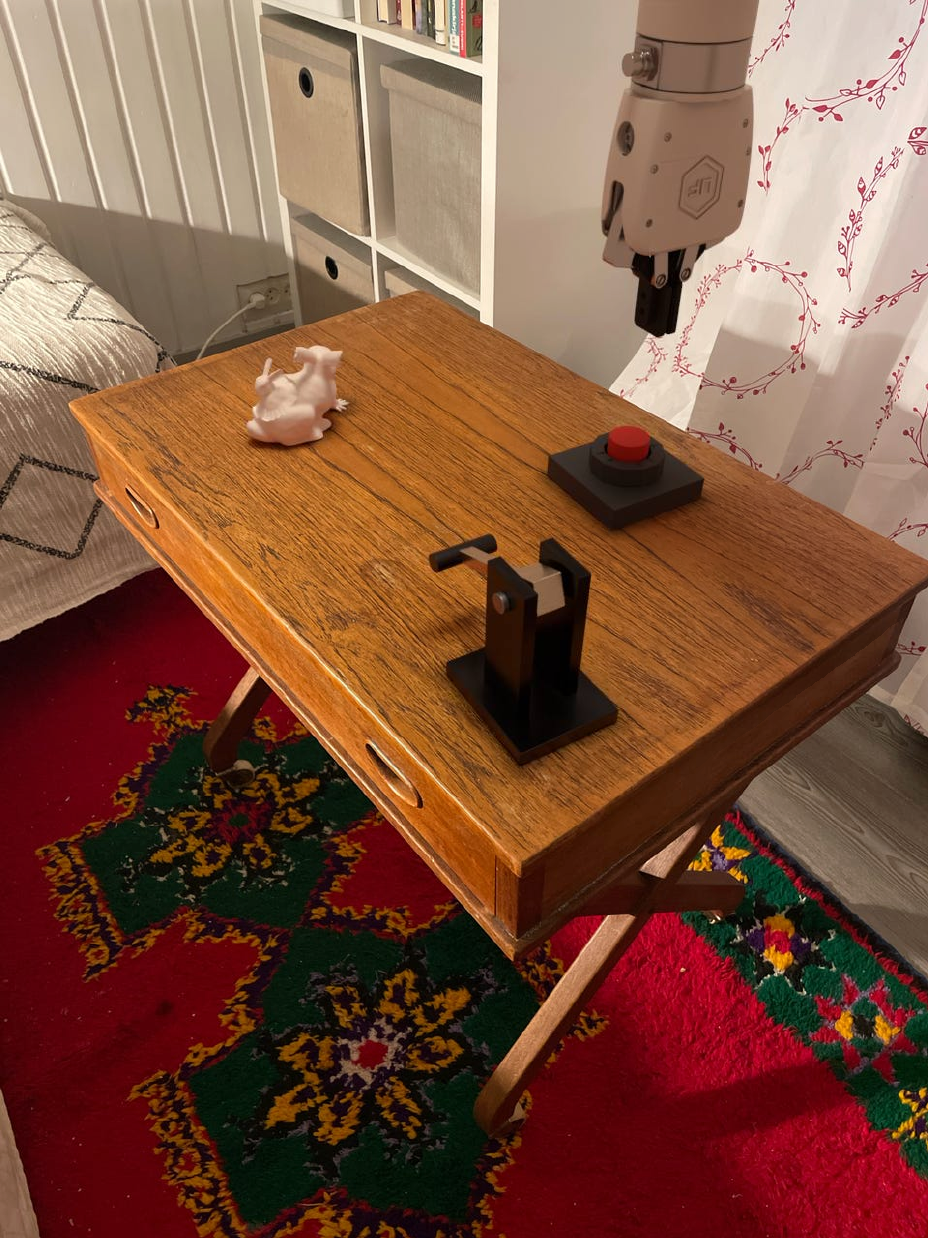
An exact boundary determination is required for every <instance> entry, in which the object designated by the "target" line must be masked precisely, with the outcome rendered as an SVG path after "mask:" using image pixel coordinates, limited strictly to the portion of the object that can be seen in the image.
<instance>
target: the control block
mask: <svg viewBox="0 0 928 1238" xmlns="http://www.w3.org/2000/svg"><path fill="white" fill-rule="evenodd" d="M610 432H611V431H609V432H605V433H602V434H599V435H597V437H596V438H595V439H594V440H593V441H590V442H587V443H584V444H581V445H577V446H574V447H571V448H568V449H565V450H562V451H559V452H556V453H552V454H550V455H549V454H548V456H547V457H548V458H547V461H548V462H547V471H546V472H547V473H546V477H548V478H549V479H550V480H551V481H553V482H554V483H555V484H556V485H557V486H558V487H559V488H561V489H562V490H563V491H564V492H565V493H566V494H567V495H569V496H570V497H571V498H572V499H573V500H575V502H577V503H578V504H579V505H581V506H582V507H583V508H584V509H585V510H586V511H587V512H588V513H590V515H592V516H593V517H595V518H596V519H597V521H599V522H601V524H603V526H605V527H606V528H607V529H608V530H609V531H610V532H614V531H616V530H619V529H622V528H624V527H627V526H630V525H632V524H635V523H638V522H641V521H643V520H646V519H648V518H652V517H654V516H656V515H659V514H662V513H665V512H668V511H670V510H673V509H676V508H678V507H682V506H684V505H687V504H690V503H692V502H695V501H697V500H700V499H701V497H702V492H703V488H704V483H705V477H703V475H701V474H699V473H698V472H696V471H695V470H694V469H692V467H690V466H689V465H687V464H686V463H684V462H683V461H681V460H680V459H679V458H677V457H676V456H674V454H672V453H670V452H669V451H668V450H666V449H665V448H664V445H663V444H662V443H661V442H660V441H658V440H657V439H656V438H654V437H652V435H650V443H649V450H648V456H647V458H646V459H645V460H643V461H640V462H622V461H619V460H615V459H613V458H611V457H610V456H609V455H608V453H607V448H608V440H609V433H610Z"/></svg>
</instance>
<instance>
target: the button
mask: <svg viewBox="0 0 928 1238" xmlns="http://www.w3.org/2000/svg"><path fill="white" fill-rule="evenodd" d="M609 432H610V433H609V440H608V448H607V453H608V455H609V456H610V457H611V458H613V459H615V460H619V461H622V462H640V461H643V460H645V459H646V458H647V456H648V450H649V443H650V436H651V435H650V433H649V432H648V431H646V430H645V429H643V428H641V427H637V426H634V425H621V426H616V427H614V428H613V429H611V430H610V431H609Z"/></svg>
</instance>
